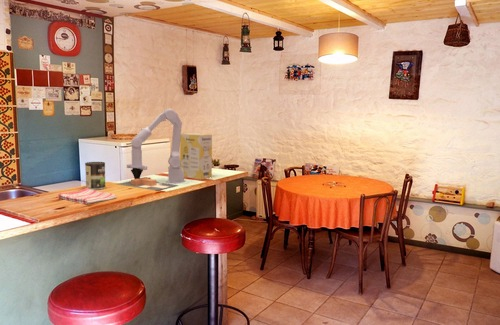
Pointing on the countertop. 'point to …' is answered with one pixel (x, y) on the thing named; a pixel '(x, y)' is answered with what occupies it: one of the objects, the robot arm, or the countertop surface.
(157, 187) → the slate mat
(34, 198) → the countertop surface
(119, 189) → the countertop surface
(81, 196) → the dish towel
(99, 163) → the coffee can
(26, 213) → the countertop surface
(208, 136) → the pasta box
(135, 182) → the t block
